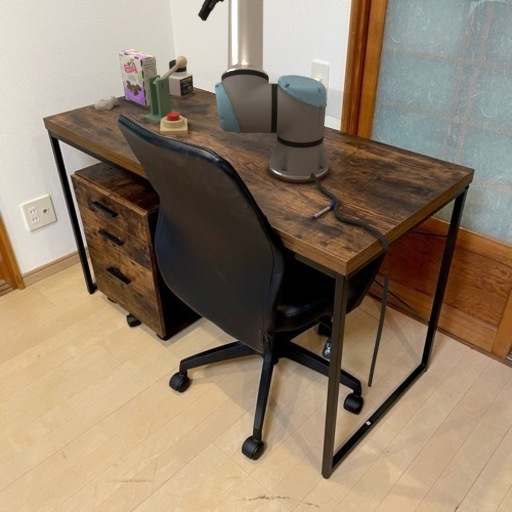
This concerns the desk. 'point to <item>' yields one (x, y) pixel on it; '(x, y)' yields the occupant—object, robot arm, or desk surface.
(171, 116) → the button
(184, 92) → the medicine bottle
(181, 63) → the lever
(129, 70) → the candy box
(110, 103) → the pale two-lobed sculpture
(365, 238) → the desk surface
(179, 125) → the button box
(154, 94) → the bracket
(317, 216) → the ballpoint pen
